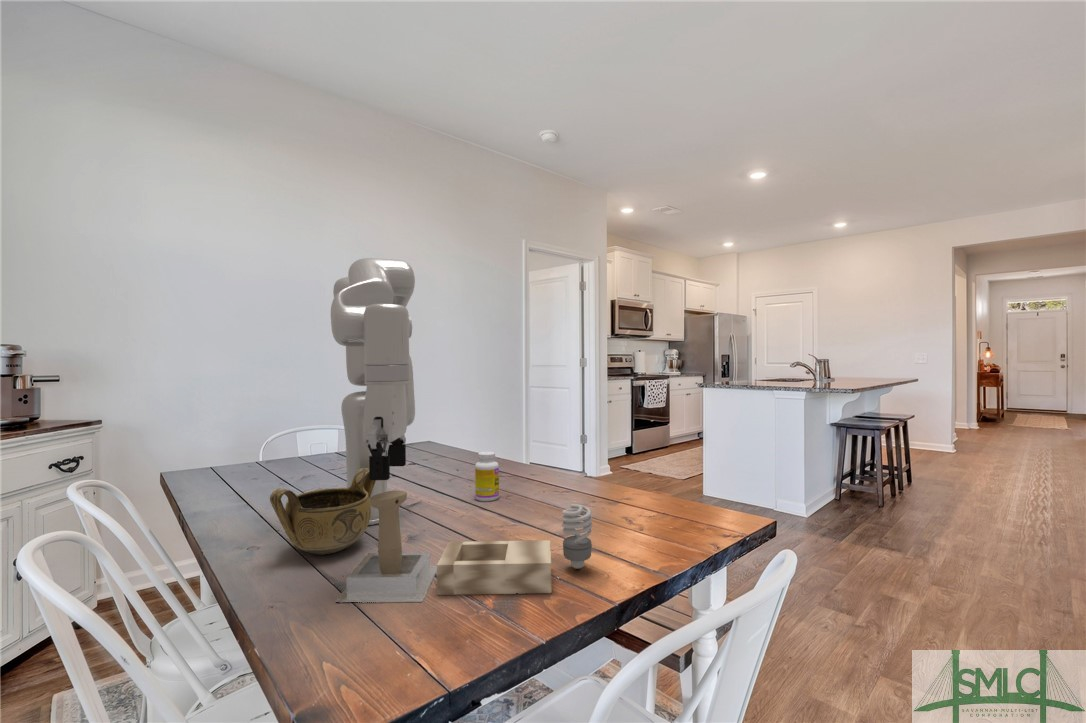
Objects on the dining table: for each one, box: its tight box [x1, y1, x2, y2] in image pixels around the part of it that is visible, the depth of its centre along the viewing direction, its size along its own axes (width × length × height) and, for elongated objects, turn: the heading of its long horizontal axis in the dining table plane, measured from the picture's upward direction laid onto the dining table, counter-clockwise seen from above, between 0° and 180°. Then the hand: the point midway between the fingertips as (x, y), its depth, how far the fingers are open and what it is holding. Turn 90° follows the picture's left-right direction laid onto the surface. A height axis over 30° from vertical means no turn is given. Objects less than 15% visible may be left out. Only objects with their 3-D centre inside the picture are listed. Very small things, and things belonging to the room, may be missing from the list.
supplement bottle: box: [474, 451, 500, 502], centre depth 140 cm, size 7×7×13 cm
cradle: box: [335, 551, 437, 604], centre depth 87 cm, size 14×13×4 cm
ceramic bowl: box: [269, 468, 376, 556], centre depth 104 cm, size 22×17×15 cm
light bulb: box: [561, 503, 593, 570], centre depth 92 cm, size 6×6×12 cm
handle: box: [369, 490, 408, 574], centre depth 88 cm, size 5×6×15 cm
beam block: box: [436, 539, 552, 596], centre depth 88 cm, size 19×10×5 cm, turn 90°
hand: (388, 472), depth 88 cm, fingers open, 9 cm apart
